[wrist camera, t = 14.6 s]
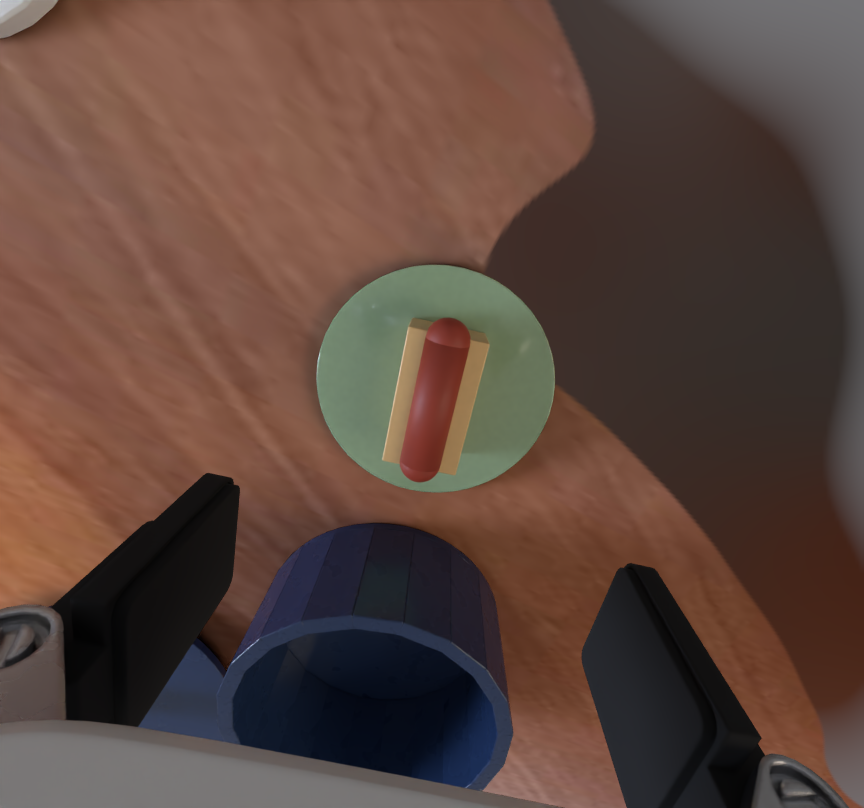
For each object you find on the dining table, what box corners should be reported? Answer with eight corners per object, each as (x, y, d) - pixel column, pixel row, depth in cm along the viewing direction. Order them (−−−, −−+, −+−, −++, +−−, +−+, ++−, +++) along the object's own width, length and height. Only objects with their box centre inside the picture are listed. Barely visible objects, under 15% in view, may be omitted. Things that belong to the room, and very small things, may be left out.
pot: (239, 539, 27) (172, 635, 20) (480, 507, 26) (491, 600, 19) (304, 709, 32) (266, 831, 25) (509, 690, 30) (526, 813, 24)
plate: (292, 288, 22) (287, 289, 21) (540, 242, 21) (543, 242, 20) (350, 499, 26) (347, 506, 25) (560, 470, 25) (564, 476, 24)
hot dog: (415, 302, 21) (409, 312, 18) (489, 318, 21) (496, 331, 18) (385, 451, 24) (376, 482, 21) (451, 465, 24) (452, 497, 21)
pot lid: (-29, 606, 30) (-133, 686, 24) (194, 579, 28) (136, 657, 23) (75, 764, 35) (9, 857, 30) (268, 748, 33) (235, 842, 28)
